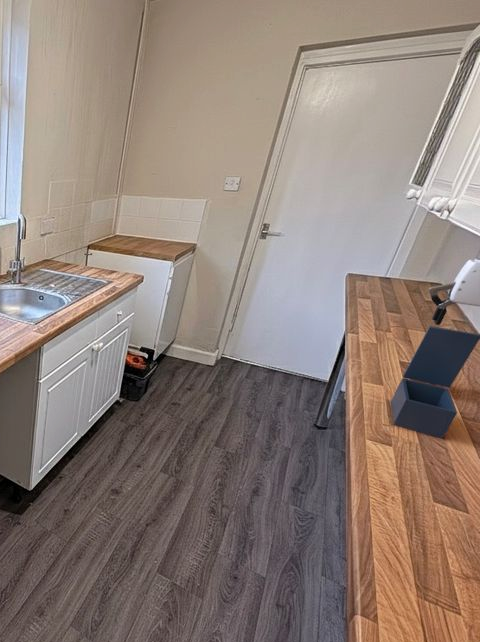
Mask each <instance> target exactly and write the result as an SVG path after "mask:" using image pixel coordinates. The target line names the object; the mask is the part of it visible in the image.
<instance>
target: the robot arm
mask: <svg viewBox="0 0 480 642" xmlns="http://www.w3.org/2000/svg"><path fill="white" fill-rule="evenodd" d="M445 291H448V292H447V297H446V298H443V299H441V298H440V297H439V293H440V292H445ZM428 294H429V297H430V300H431V302H433V303H434V304H435V306H436V309H435V311H434V313H433V315H432V318H431V320H432V321H433V322H434V324H435V325H436V326H440V325H441V324H442V323H443V320H444V318H445V316H446V314H447V312H448V310H447V307H450V306H453V305H455V304H458V305H459V304H461V305H467V306H475V307H480V248H479V249H478V251H477V253H476V256H475V257H474V259H473V258H472V259H471V258H470V259H468V260H467V261H466V262H465V264H464V265H463V266H462V268H461V269H460V271H459V272H458V274H457V276H456V277H455V279H454V281H453V282H452V283H445V284H441V285H435V286H431V287H429V288H428Z"/></svg>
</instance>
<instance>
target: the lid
mask: <svg viewBox="0 0 480 642" xmlns="http://www.w3.org/2000/svg"><path fill="white" fill-rule="evenodd" d="M479 341H480V333H474V332H468V331H462V330H456V329H450V328H445V327H439V326H432V325H429V326H428V328H427V330H426V332H425V334H424V336H423V338H422V339H421V341H420V343H419V345H418V347H417V349H416V350H415V351H414V354H413V356H412V358H411V360H410V362H409V364H408V366H407V367H406V370H405V371H404V373H403V374H402V377H403V379H408V380H410V379H413V380H417V381H421V382H426V383H430V384H434V385H436V386H438V387H443V388H447V389H451V387H452V385H453V384H454V382H455V380H456V379H457V377H458V375H459V374H460V372H461V370H462V369H463V367H464V365H465V364H466V362H467V361H468V359H469V358H470V356H471V354H472V353H473V351H474V349H475V347H476V346H477V344H478V343H479Z"/></svg>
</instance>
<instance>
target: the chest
mask: <svg viewBox="0 0 480 642" xmlns="http://www.w3.org/2000/svg"><path fill="white" fill-rule="evenodd" d="M390 405H391V415H392V423H393V426H397V427H401V428H404V429H408V430H411V431H415V432H418V433H422V434H426V435H429V436H433V437H435V438H439V439H444V437H445V436H446V434H447V432H448V430H449V428H450V426H451V425H452V423H453V421H454V419H455V418H456V417H457V414H458V410H457V408H456V405H455V402H454V399H453V397H452V394H451V391H450V388H448V387H443V386H439V385H436V386H434V385H430V384H425V383H421V382H417V381H412V380H410V379H408V378H404V377H403V378H401V380H400V382H399V383H398V386H397V388H396V390H395V392H394V394H393V397H392V398H391V400H390Z"/></svg>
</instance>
